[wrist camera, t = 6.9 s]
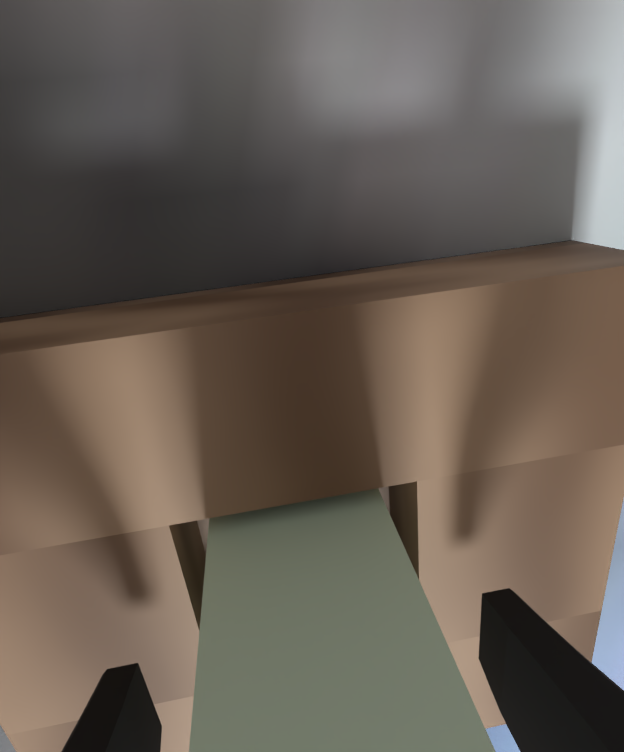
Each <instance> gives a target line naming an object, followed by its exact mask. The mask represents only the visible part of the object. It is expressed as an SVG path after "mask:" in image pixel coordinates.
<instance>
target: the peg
mask: <svg viewBox="0 0 624 752" xmlns="http://www.w3.org/2000/svg"><path fill="white" fill-rule="evenodd" d="M189 752H495V750H494V748H493V745H492V743H491V741H490V739H489V736H488V734H487V732H486V730H485V727H484V725H483V723H482V721H481V718H480V716H479V714H478V712H477V709H476V707H475V705H474V703H473V700H472V698H471V696H470V694H469V691H468V689H467V687H466V685H465V682H464V680H463V678H462V676H461V673H460V671H459V669H458V667H457V664H456V662H455V660H454V658H453V655H452V653H451V651H450V649H449V646H448V644H447V642H446V640H445V637H444V635H443V633H442V631H441V628H440V626H439V624H438V622H437V619H436V617H435V615H434V613H433V610H432V608H431V606H430V604H429V601H428V599H427V597H426V595H425V592H424V590H423V588H422V586H421V583H420V581H419V579H418V577H417V574H416V572H415V570H414V568H413V565H412V563H411V561H410V559H409V556H408V554H407V552H406V550H405V547H404V545H403V543H402V541H401V538H400V536H399V534H398V532H397V530H396V527H395V525H394V523H393V521H392V518H391V516H390V514H389V512H388V509H387V507H386V505H385V503H384V500H383V498H382V496H381V494H380V491H379V489H378V488H377V489H371V490H366V491H360V492H355V493H349V494H343V495H338V496H332V497H326V498H321V499H315V500H309V501H304V502H298V503H293V504H287V505H281V506H276V507H270V508H264V509H259V510H253V511H248V512H242V513H236V514H231V515H225V516H219V517H214V518H209V528H208V539H207V550H206V562H205V573H204V585H203V596H202V607H201V619H200V630H199V642H198V653H197V665H196V676H195V687H194V699H193V710H192V722H191V733H190V744H189Z"/></svg>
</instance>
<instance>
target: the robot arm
mask: <svg viewBox="0 0 624 752" xmlns="http://www.w3.org/2000/svg"><path fill="white" fill-rule="evenodd" d="M479 661H480V663H481V666H482V668H483V671H484V673H485V676H486V678H487V681H488V684H489V686H490V689H491V691H492V693H493V696H494V698H495V700H496V703H497V705H498V708H499V710H500V712H501V714H502V716H503V718H504V720H505V722H506V724H507V726H508V728H509V730H510V732H511V734H512V736H513V738H514V740H515V742H516V744H517V745H518V747H519V749H520V751H521V752H624V691H623V690H622V689H621V688H620V687H619V686H618V685H616V684H615V683H614V682H613V681H612V680H611V679H609V678H608V677H607V676H606V675H605V674H604V673H603V672H601V671H600V670H599V669H598V668H597V667H596V666H594V665H593V664H592V663H591V662H590V661H589V660H587V659H586V658H585V657H584V656H583V655H582V654H581V653H580V652H579V651H577V650H576V649H575V648H574V647H573V646H572V645H571V644H570V643H569V642H567V641H566V640H565V639H564V638H563V637H562V636H561V635H560V634H559V633H558V632H557V631H555V630H554V629H553V628H552V627H551V626H550V625H549V624H548V623H547V622H546V621H545V620H544V619H543V618H541V617H540V616H539V615H538V614H537V613H536V612H535V611H534V610H533V609H532V608H531V607H530V606H529V605H528V604H527V603H526V602H525V601H523V600H522V599H521V598H520V597H519V596H518V595H517V594H516V593H515V592H514V591H513V590H511V589H510V588H507V589H502V590H497V591H492V592H487V593H482V602H481V621H480V640H479ZM161 734H162V725H161V722H160V719H159V717H158V714H157V712H156V709H155V706H154V704H153V701H152V698H151V696H150V693H149V690H148V688H147V685H146V682H145V680H144V677H143V674H142V672H141V669H140V666H139V664H138V663H134V664H129V665H124V666H120V667H115V668H110V669H107V670H106V671H105V672H104V673H103V675H102V677H101V679H100V680H99V682H98V684H97V686H96V688H95V690H94V692H93V694H92V696H91V698H90V700H89V701H88V703H87V705H86V707H85V709H84V711H83V713H82V715H81V716H80V718H79V720H78V722H77V724H76V726H75V728H74V729H73V731H72V733H71V735H70V737H69V739H68V740H67V742H66V744H65V746H64V748H63V749H62V751H61V752H160V750H161Z"/></svg>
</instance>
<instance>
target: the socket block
mask: <svg viewBox="0 0 624 752" xmlns="http://www.w3.org/2000/svg"><path fill="white" fill-rule="evenodd" d="M377 488H378V489H379V491H380V494H381V496H382V498H383V500H384V503H385V505H386V507H387V509H388V512H389V514H390V516H391V518H392V521H393V523H394V525H395V527H396V530H397V532H398V534H399V536H400V538H401V541H402V543H403V545H404V547H405V550H406V552H407V554H408V556H409V559H410V561H411V563H412V565H413V568H414V570H415V572H416V574H417V577H418V579H419V581H420V583H421V586H422V588H423V590H424V592H425V595H426V597H427V599H428V601H429V604H430V606H431V608H432V610H433V613H434V615H435V617H436V619H437V622H438V624H439V626H440V628H441V631H442V633H443V635H444V637H445V640H446V642H447V644H448V646H449V649H450V651H451V653H452V655H453V658H454V660H455V662H456V664H457V667H458V669H459V671H460V673H461V676H462V678H463V680H464V682H465V685H466V687H467V689H468V691H469V694H470V696H471V698H472V700H473V703H474V705H475V707H476V709H477V712H478V714H479V716H480V718H481V721H482V723H483V725H484V727H485V729H486V728H490V727H495V726H499V725H503V724H506V722H505V720H504V718H503V716H502V714H501V712H500V710H499V708H498V705H497V703H496V700H495V698H494V696H493V693H492V691H491V689H490V686H489V684H488V681H487V678H486V676H485V673H484V671H483V668H482V666H481V663H480V661H479V640H480V621H481V602H482V593H487V592H492V591H497V590H502V589H507V588H510V589H511V590H513V591H514V592H515V593H516V594H517V595H518V596H519V597H520V598H521V599H522V600H523V601H525V602H526V603H527V604H528V605H529V606H530V607H531V608H532V609H533V610H534V611H535V612H536V613H537V614H538V615H539V616H540V617H541V618H543V619H544V620H545V621H546V622H547V623H548V624H549V625H550V626H551V627H552V628H553V629H554V630H555V631H557V632H558V633H559V634H560V635H561V636H562V637H563V638H564V639H565V640H566V641H567V642H569V643H570V644H571V645H572V646H573V647H574V648H575V649H576V650H577V651H579V652H580V653H581V654H582V655H583V656H584V657H585V658H586V659H587V660H589V661H590V662H591V661H592V656H593V651H594V646H595V641H596V636H597V630H598V625H599V620H600V615H601V610H602V605H603V600H604V595H605V589H606V584H607V579H608V574H609V569H610V564H611V559H612V554H613V549H614V543H615V538H616V533H617V528H618V523H619V518H620V513H621V508H622V502H623V497H624V250H620V249H615V248H609V247H604V246H599V245H594V244H589V243H583V242H578V241H573V240H572V241H565V242H557V243H550V244H542V245H535V246H528V247H520V248H513V249H506V250H498V251H491V252H484V253H476V254H469V255H461V256H454V257H447V258H439V259H432V260H425V261H417V262H410V263H403V264H395V265H388V266H380V267H373V268H366V269H358V270H351V271H344V272H336V273H329V274H322V275H314V276H307V277H299V278H292V279H285V280H277V281H270V282H263V283H255V284H248V285H241V286H233V287H226V288H219V289H211V290H204V291H196V292H189V293H182V294H174V295H167V296H160V297H152V298H145V299H138V300H130V301H123V302H115V303H108V304H101V305H93V306H86V307H79V308H71V309H64V310H57V311H49V312H42V313H34V314H27V315H20V316H12V317H5V318H0V725H1V727H2V728H3V730H4V732H5V733H6V735H7V737H8V738H9V740H10V742H11V743H12V745H13V747H14V748H15V750H16V752H61V751H62V749H63V748H64V746H65V744H66V742H67V740H68V739H69V737H70V735H71V733H72V731H73V729H74V728H75V726H76V724H77V722H78V720H79V718H80V716H81V715H82V713H83V711H84V709H85V707H86V705H87V703H88V701H89V700H90V698H91V696H92V694H93V692H94V690H95V688H96V686H97V684H98V682H99V680H100V679H101V677H102V675H103V673H104V672H105V671H106V670H107V669H110V668H115V667H120V666H124V665H129V664H134V663H138V664H139V666H140V669H141V672H142V674H143V677H144V680H145V682H146V685H147V688H148V690H149V693H150V696H151V698H152V701H153V704H154V706H155V709H156V712H157V714H158V717H159V719H160V722H161V725H162V734H161V750H160V752H189V744H190V733H191V722H192V710H193V699H194V687H195V676H196V665H197V653H198V642H199V630H200V619H201V607H202V596H203V585H204V573H205V562H206V550H207V539H208V528H209V518H214V517H219V516H225V515H231V514H236V513H242V512H248V511H253V510H259V509H264V508H270V507H276V506H281V505H287V504H293V503H298V502H304V501H309V500H315V499H321V498H326V497H332V496H338V495H343V494H349V493H355V492H360V491H366V490H371V489H377Z"/></svg>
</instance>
